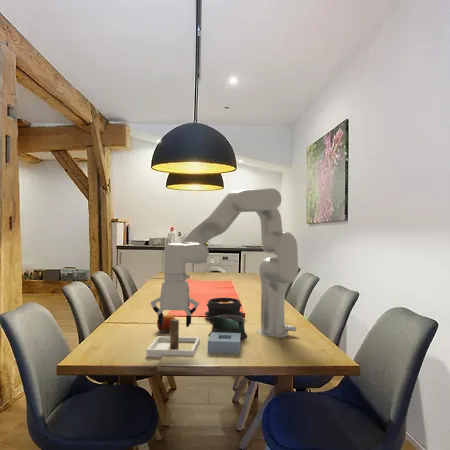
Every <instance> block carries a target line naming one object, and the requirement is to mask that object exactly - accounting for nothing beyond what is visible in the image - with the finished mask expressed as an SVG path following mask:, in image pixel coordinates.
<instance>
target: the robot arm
mask: <svg viewBox="0 0 450 450" xmlns="http://www.w3.org/2000/svg"><path fill="white" fill-rule="evenodd" d="M281 204H282V194H281V193H280V192H279V190H278V189H276V188H274V187H270V188H268V187H267V188H256V189H254V188H252V189H251V188H250V189H246V188H245V189H237V190H231V191H230V192H228V193H227V194H226V195H225V197H223V199H222V200H221V201H220V203H218V205H217V206H216V208H215V209H214V210H213V211H212V213H210V214H209V216H207V218H205V219H204V220H203V221H202V222H200V224H198V225H197V226H195V227H194V228H193V229H192V230H191V231H190V232H189V233H188V234H187V236H186V237H185V238H184V239H183V241H182V242H181V243H179V242H174V243H172V242H171V243H167V244H165V246H164V256H163V257H164V265H163V266H164V267H163V269H164V272H163V273H164V274H163V275H164V278H163V281H162V283H161V290H160V297H157V298H156V299H154V300H152V301H150V305H151V307H152V310H153V311H154V312H155V313H156V315H157V320H158V323H159V326H162V325H163V316H164V313H163V312H164V311H184V312H185V313H186V317H185V318H186V319H185V321H186V322H185V327H186V328H189V326H190V325H192V315H193V314H194V313H195V311H196V310H197V308H198V307H199V305H200V303H199V302H198V301H197V300H195V299H193V298H191V297H190V288H189V281H188V279H190V274H187V273H186V270H187V269H186V268H187V267H186V264H196V265H197V264H202V263H205V261H207V260H208V258H209V253H210V252H209V249H208V247H207V246H206V245H205V244H206V243H207V242H208V241H210V240H212V239H213V238H215V237H218V236H220V235H222V234H223V233H225V232H226V231H227V230H228V229H229V228H230V227H231V226H232V224H233V223H234V221H236V219H237V218H238V217H239V216H240V214H241V213H248V212H249V213H251V212H252V213H254V212H255V213H256V215H258V217H259V220H260V221H259V222H260V230H261V231H260V233H261V236H260V237H261V249H262V251H264V252H265V253H266V254H269V255H275V256H276V257H274V256H273V257H271V256H270V257H266V258H264V259H263V260H262V261H261V262H260V264H259V267H258V269H259V270H258V271H259V279H260V284H261V285H260V287H261V290H260V291H261V294H260V295H261V296H260V297H261V298H260V305H261V307H260V328H259V329H258V330H257V331H256V333H257V335H260V336H264V337H278V339H282V338H283V339H284V338H286V337H288V336H289V332H296V331H297V327H296V326H293V325H287V324H286V323H285V297H286V295H285V294H286V291H285V287H284V284H286V285H288V284H291V283H293V282H295V280H296V278H297V277H298V272H299V257H298V255H299V253H298V242H297V239H296V237H295V236H294V235H293V234H292V233H291V232H289V231H283V223H282V215H281V213H280V211H279V209H278V208H279V207H280V205H281ZM157 303H159V307H160V308H159V307H158V306H157ZM190 304H192V305H193V307H192V308H191V309H190Z"/></svg>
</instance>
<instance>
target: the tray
mask: <svg viewBox="0 0 450 450" xmlns="http://www.w3.org/2000/svg"><path fill="white" fill-rule="evenodd" d="M200 341H201V340H200V337H194V336H193V337H191V336H179V343H181V342H183V343H184V342H185V343H194V344H193V346H192V348H191V349H169V348H170V336H166V335H165V336H163V335H162V336H161V335H160V336H159V335H157V337H155V339H154V340H153V341H152V343H150V344H149V346H148V347H147V348H146V354H145V355H146V357H147V358H163V357H164V356H187V357H188V356H194V355H195V352H196V351H197V348H198V346H199V344H200Z"/></svg>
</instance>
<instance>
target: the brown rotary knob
mask: <svg viewBox="0 0 450 450" xmlns="http://www.w3.org/2000/svg"><path fill="white" fill-rule="evenodd" d="M211 332H217V333H241V341H244V340H246V339H247V338H248V334H247V332H246V329H245V318H244V317H243V316H237V315H231V314H223V315H218V316H215V317H213V320H212V326H211V331H210V332H209V334H208V338H209V337H210V334H211Z"/></svg>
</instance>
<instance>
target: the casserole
mask: <svg viewBox="0 0 450 450" xmlns="http://www.w3.org/2000/svg"><path fill="white" fill-rule="evenodd" d="M206 307H207V311H206V312H204V315H205V316H206V317H207V318H208V319H210V320H212V321H213V317H215V316H218V315H223V314H231V315H237V316H241V317H243V316H244V313H243V312H242V311H240V310H241V307H242V303H241V301H240V300H239V299H238V298H233V297H232V298H231V297H215V298H211V299H208V301H207V304H206Z"/></svg>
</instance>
